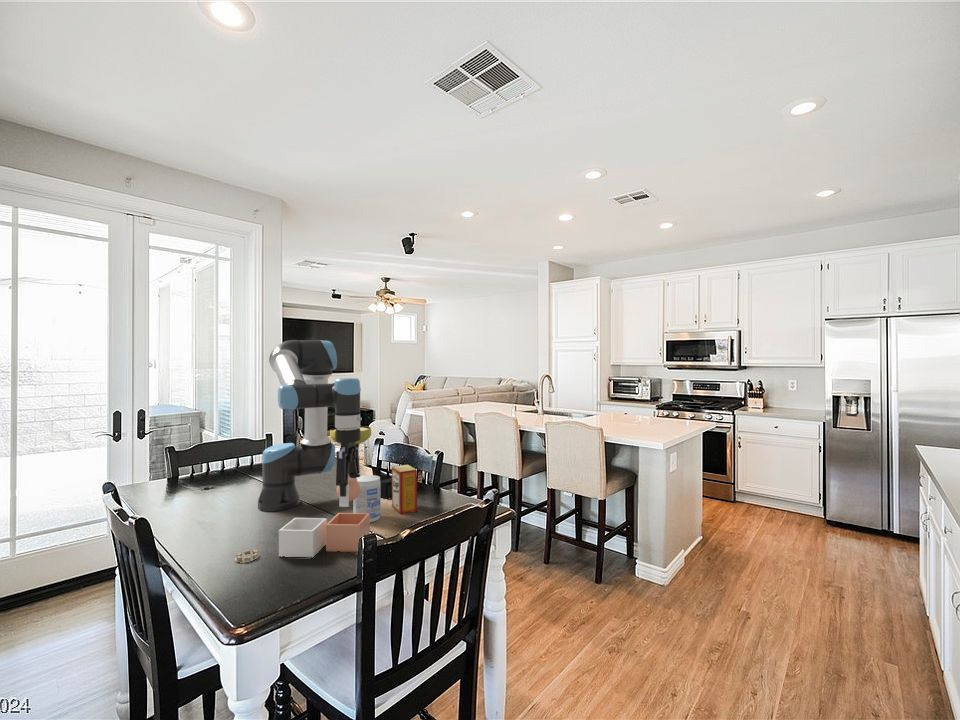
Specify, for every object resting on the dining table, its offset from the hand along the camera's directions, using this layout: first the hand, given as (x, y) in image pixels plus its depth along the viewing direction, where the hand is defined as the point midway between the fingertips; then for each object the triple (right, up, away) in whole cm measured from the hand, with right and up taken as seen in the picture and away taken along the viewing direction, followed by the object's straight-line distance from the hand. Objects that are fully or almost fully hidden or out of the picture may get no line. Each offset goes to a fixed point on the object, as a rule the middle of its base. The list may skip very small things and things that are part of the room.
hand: (348, 502), depth 142 cm
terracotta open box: (0, -13, 0) cm, 13 cm away
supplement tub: (0, -13, +22) cm, 26 cm away
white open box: (-12, -13, -4) cm, 19 cm away
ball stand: (-27, -13, -9) cm, 31 cm away
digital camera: (+5, -13, +49) cm, 51 cm away
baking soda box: (+12, -13, +33) cm, 37 cm away
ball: (0, +4, 0) cm, 4 cm away
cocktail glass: (-18, -12, +68) cm, 71 cm away
